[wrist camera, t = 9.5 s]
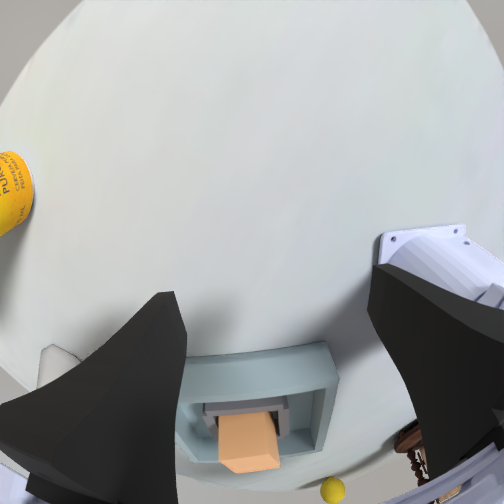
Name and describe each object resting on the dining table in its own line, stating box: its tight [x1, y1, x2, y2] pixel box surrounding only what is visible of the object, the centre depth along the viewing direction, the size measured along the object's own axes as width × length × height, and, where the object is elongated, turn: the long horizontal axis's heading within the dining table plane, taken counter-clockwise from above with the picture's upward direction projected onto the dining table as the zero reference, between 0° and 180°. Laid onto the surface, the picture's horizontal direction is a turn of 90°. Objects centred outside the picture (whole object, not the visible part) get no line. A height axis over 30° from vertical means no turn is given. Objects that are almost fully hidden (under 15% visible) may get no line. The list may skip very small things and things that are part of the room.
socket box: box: [175, 341, 339, 463], centre depth 25 cm, size 16×16×4 cm
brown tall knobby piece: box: [394, 424, 462, 504], centre depth 28 cm, size 15×15×20 cm
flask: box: [37, 344, 81, 389], centre depth 19 cm, size 7×7×10 cm
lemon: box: [320, 477, 345, 504], centre depth 41 cm, size 6×6×8 cm
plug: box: [219, 411, 280, 474], centre depth 22 cm, size 4×4×7 cm
